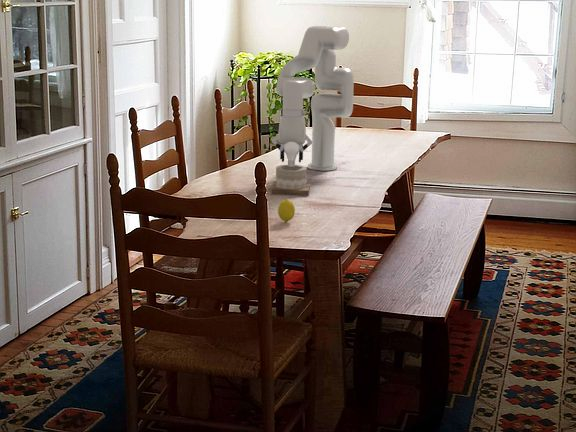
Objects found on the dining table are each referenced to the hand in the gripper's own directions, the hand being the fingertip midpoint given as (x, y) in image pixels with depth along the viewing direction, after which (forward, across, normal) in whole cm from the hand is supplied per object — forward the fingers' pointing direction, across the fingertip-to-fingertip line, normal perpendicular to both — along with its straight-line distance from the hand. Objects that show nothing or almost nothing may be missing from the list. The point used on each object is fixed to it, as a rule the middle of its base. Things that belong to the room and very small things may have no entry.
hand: (291, 161), depth 348 cm
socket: (+12, 0, 0) cm, 12 cm away
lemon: (+12, -1, +45) cm, 46 cm away
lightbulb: (+3, 0, 0) cm, 3 cm away
